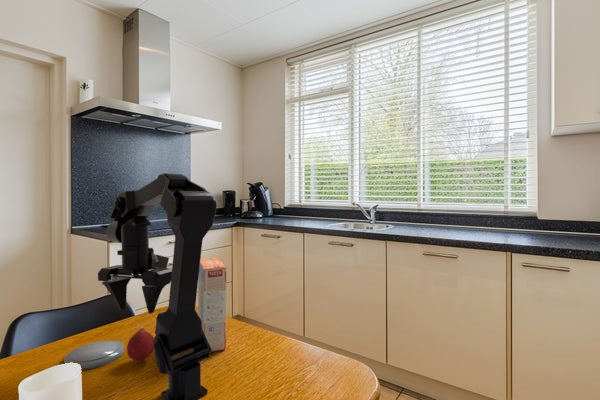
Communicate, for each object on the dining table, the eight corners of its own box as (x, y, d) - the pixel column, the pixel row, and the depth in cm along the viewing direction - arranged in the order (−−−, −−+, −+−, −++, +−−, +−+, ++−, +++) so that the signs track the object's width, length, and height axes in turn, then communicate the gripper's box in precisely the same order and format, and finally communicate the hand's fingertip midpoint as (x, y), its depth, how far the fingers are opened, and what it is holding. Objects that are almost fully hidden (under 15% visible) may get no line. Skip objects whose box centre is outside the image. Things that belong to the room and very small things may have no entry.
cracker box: (227, 350, 79) (227, 266, 79) (202, 354, 77) (202, 268, 77) (219, 328, 92) (219, 256, 92) (197, 332, 90) (197, 258, 90)
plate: (132, 355, 77) (132, 348, 77) (73, 376, 68) (72, 369, 68) (113, 340, 85) (113, 335, 85) (57, 358, 76) (57, 351, 76)
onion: (143, 370, 70) (143, 334, 70) (120, 367, 71) (120, 331, 71) (160, 357, 76) (160, 323, 76) (139, 354, 77) (138, 321, 77)
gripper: (190, 241, 79) (191, 304, 79) (135, 240, 86) (136, 298, 86) (154, 247, 69) (156, 320, 69) (95, 245, 76) (97, 311, 76)
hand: (136, 311), depth 75 cm, fingers open, 9 cm apart
